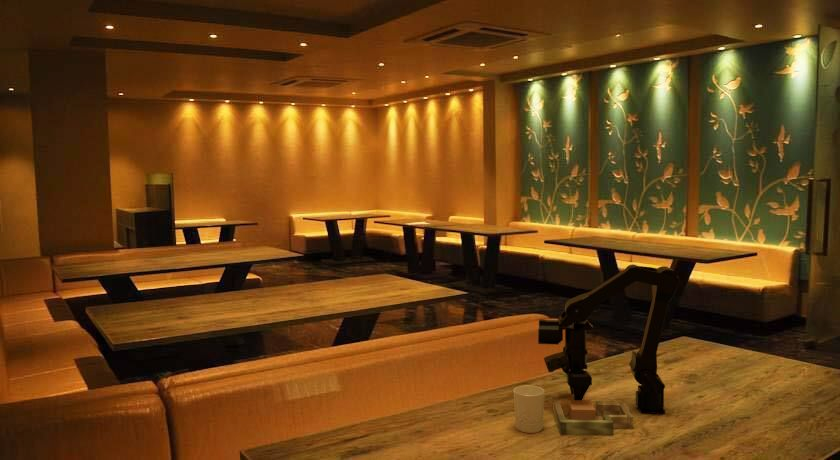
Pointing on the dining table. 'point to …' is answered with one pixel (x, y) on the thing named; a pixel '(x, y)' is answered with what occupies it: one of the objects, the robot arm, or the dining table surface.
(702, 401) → the dining table surface
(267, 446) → the dining table surface
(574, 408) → the block
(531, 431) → the white cup
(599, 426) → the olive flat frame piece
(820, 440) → the dining table surface
